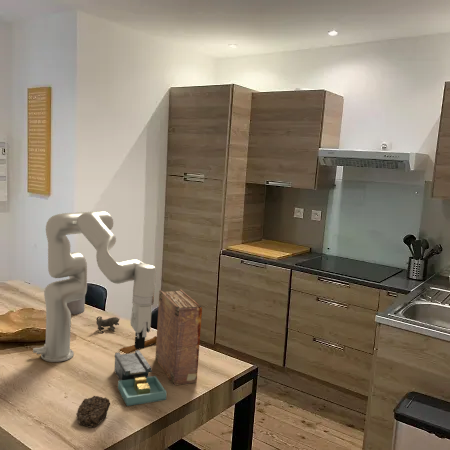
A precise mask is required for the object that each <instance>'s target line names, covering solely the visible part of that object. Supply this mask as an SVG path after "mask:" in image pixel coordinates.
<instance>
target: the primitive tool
mask: <svg viewBox="0 0 450 450" xmlns="http://www.w3.org/2000/svg"><path fill="white" fill-rule="evenodd" d="M156 340H157V335H155V336H153V337H152V338H150V339H147V340H145V345H144V348H146V347H148V346H152V345H156ZM119 350H120V351H122V352H124V353H128V354H131V353H134V352H135V350H136V351H137V350H139V349H136V348H135V344H131V345H130V346H126V347H122V348H120V349H119ZM120 351H119V352H120ZM122 352H121V353H122ZM130 352H131V353H130ZM124 353H123V354H124Z"/></svg>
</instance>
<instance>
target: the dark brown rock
mask: <svg viewBox="0 0 450 450" xmlns="http://www.w3.org/2000/svg"><path fill="white" fill-rule="evenodd" d="M110 406H111V402H110V399H109V398H108V397H103V396H99V395H93V396H92V397H89V398H84V399H83V400H82V401H81V403H80V404H79V406H78V408H77V411H76V413H75V414H76V418H77V421H78V424H79V425H80V426H84V427H88V428H92V427H97V426H98V425H99V424H100V423H101V421H103V420H104V419H105V418H106V417H107V414H108V412H109V408H110Z"/></svg>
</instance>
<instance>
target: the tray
mask: <svg viewBox="0 0 450 450" xmlns="http://www.w3.org/2000/svg"><path fill="white" fill-rule="evenodd" d="M146 379H147V381H146V383H148V384H149V386H150V393H148V394H141V395H137V392H136V391H135V389H134V387H133V386H134V379H128V380H117V389H118V392H119V393H120V396H121V397H122V400H123V401H124V403H125V406H126V407H130V406H134V405H135V406H136V405H142V404H150V403H155V402H161V401H166V400H167V390H166V388H164V386H163V384H162V383H161V382H160V380H159V378H158V377H157V376H156V375H151V376H148V377H146Z"/></svg>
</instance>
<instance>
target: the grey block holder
mask: <svg viewBox="0 0 450 450" xmlns="http://www.w3.org/2000/svg"><path fill="white" fill-rule="evenodd" d="M114 353H115V354H114V373H115V375H116V376H117V378H118V381H120V380H128V379H134V376H144V375H145V377H149V373H153V370H152V366H151V365H150V364H149V362H148V361H147V359H146V358H145V356H144V355H143V353H142V352H141V351H140V349H138V350H136V351H134V352H131V353H128V354H124V353H122V354H121V352H120V351H119V352H114Z"/></svg>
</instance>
